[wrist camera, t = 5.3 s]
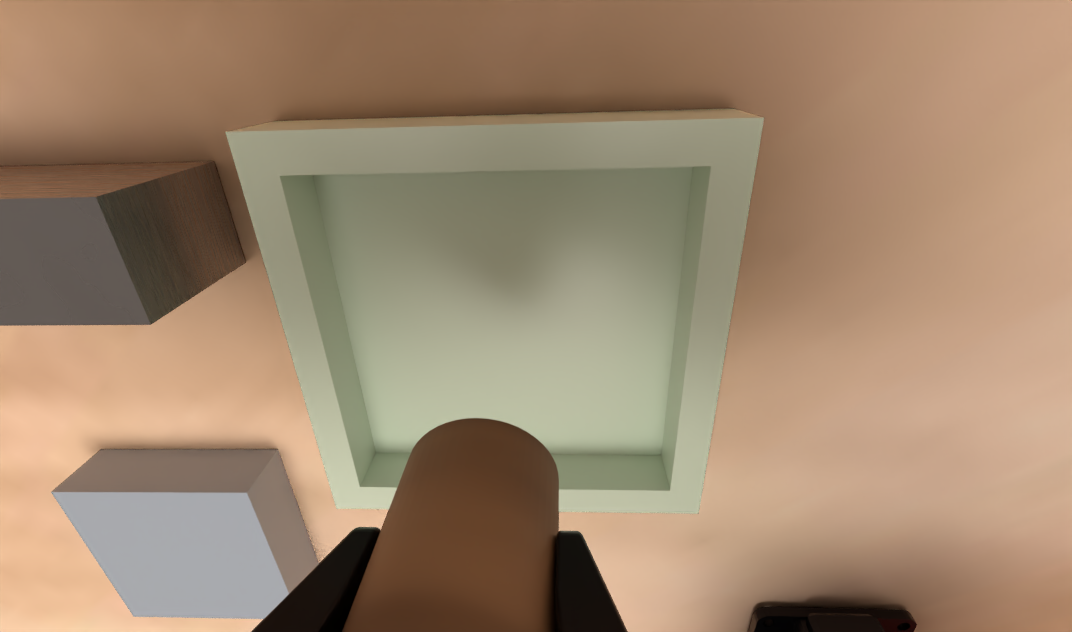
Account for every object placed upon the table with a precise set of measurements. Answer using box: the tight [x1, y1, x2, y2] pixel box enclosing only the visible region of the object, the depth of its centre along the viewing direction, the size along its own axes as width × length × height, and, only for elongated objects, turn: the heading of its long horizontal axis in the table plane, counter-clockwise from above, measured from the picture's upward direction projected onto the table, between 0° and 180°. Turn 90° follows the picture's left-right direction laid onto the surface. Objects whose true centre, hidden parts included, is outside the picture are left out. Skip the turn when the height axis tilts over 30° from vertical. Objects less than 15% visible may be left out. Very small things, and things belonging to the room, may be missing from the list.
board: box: [51, 449, 319, 619], centre depth 20 cm, size 7×7×2 cm
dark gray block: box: [0, 161, 246, 325], centre depth 13 cm, size 3×9×4 cm, turn 92°
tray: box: [225, 108, 764, 514], centre depth 15 cm, size 12×12×2 cm
